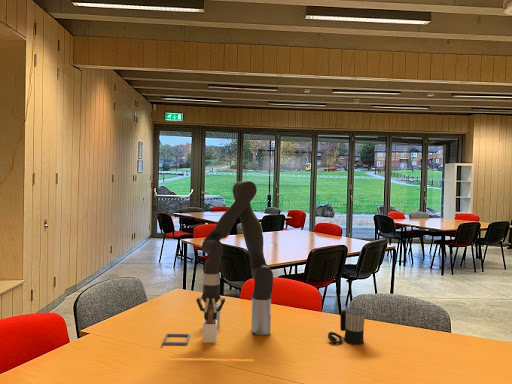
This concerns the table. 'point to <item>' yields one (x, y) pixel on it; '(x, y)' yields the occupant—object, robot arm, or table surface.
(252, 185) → the robot arm
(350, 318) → the milk frother
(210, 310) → the dowel
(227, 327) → the table surface
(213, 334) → the cup
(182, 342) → the tray
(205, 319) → the can
